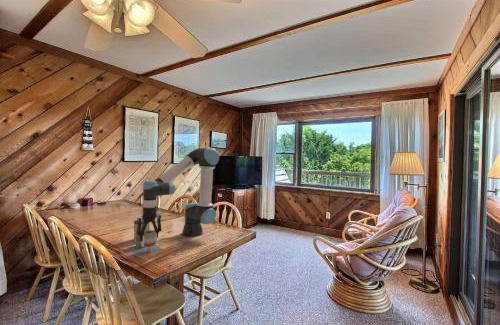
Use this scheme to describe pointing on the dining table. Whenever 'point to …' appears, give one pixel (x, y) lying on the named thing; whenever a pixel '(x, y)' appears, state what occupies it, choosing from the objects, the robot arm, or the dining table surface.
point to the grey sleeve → (138, 242)
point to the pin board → (144, 250)
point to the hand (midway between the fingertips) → (148, 244)
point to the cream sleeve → (149, 238)
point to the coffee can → (141, 227)
